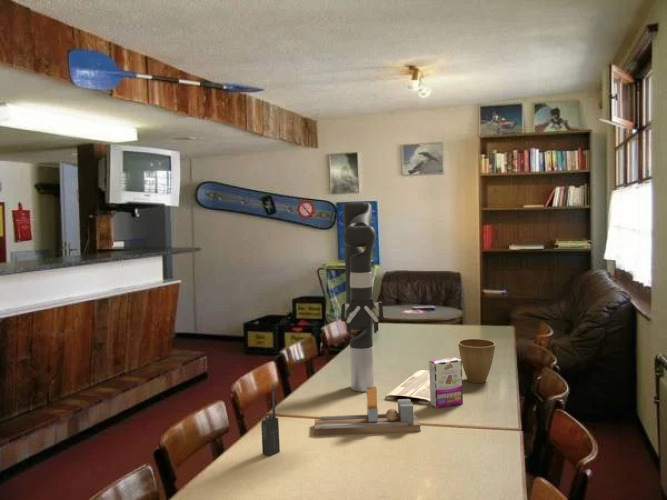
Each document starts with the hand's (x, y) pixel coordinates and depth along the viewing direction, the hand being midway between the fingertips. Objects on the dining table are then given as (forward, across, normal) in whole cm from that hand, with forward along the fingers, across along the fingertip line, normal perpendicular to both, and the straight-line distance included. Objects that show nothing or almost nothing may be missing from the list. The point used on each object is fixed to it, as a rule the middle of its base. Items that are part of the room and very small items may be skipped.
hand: (362, 333), depth 194 cm
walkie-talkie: (+30, +30, +24) cm, 49 cm away
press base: (+30, 0, +7) cm, 31 cm away
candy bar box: (+30, -31, -13) cm, 45 cm away
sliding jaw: (+28, -2, +7) cm, 29 cm away
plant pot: (+30, -50, -41) cm, 71 cm away
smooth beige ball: (+26, -8, +7) cm, 28 cm away
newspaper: (+31, -25, -34) cm, 53 cm away
